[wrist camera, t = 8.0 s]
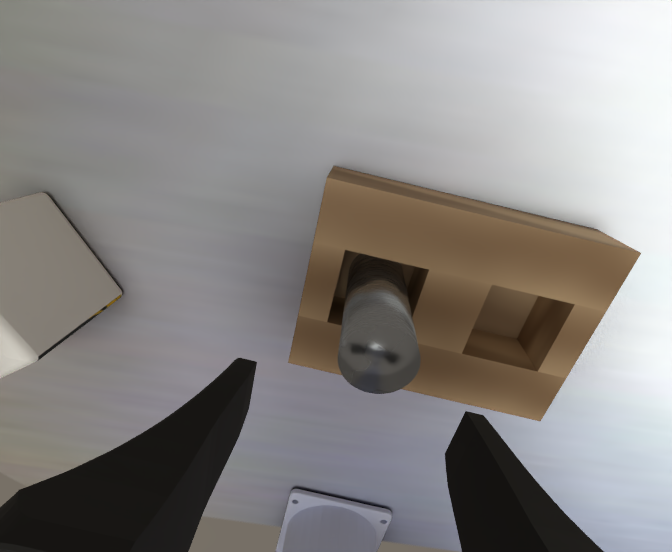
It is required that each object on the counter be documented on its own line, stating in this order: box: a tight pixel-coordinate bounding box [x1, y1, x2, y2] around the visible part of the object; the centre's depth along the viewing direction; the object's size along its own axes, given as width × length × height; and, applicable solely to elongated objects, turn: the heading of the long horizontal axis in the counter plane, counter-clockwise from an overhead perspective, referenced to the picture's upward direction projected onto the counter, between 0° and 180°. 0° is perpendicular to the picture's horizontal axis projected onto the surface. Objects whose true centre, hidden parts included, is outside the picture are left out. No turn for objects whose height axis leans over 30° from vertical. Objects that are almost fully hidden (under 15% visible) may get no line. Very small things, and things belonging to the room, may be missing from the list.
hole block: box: [288, 166, 641, 421], centre depth 20 cm, size 10×14×4 cm
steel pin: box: [338, 253, 421, 394], centre depth 18 cm, size 3×3×8 cm
